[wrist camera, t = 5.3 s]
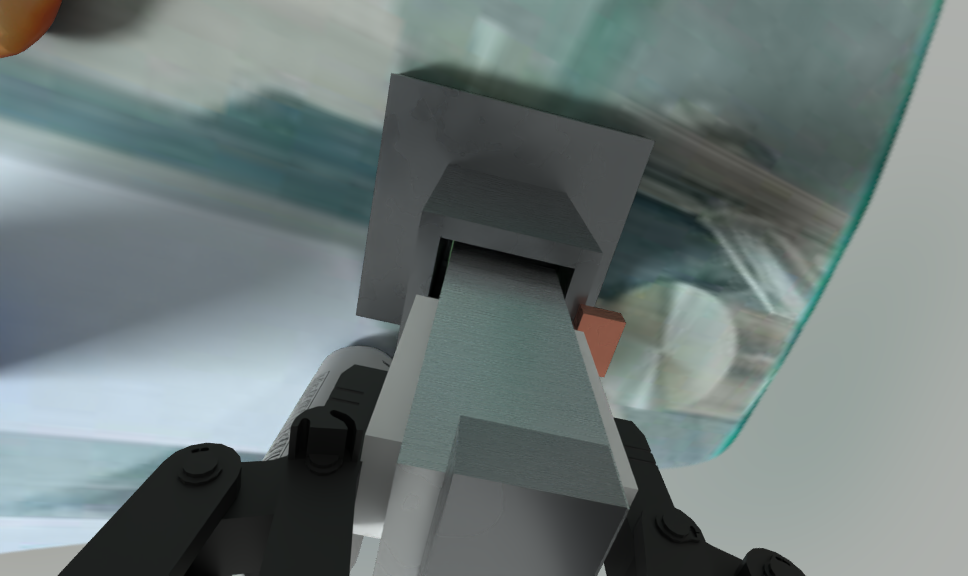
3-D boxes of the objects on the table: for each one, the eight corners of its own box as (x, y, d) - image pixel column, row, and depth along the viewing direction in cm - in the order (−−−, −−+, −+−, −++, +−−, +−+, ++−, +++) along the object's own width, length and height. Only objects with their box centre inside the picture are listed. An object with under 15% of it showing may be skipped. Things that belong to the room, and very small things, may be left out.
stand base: (398, 73, 26) (318, 69, 14) (644, 136, 27) (758, 181, 15) (364, 301, 31) (285, 433, 20) (569, 346, 32) (610, 498, 21)
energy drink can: (390, 422, 35) (323, 640, 22) (311, 392, 34) (189, 600, 21) (420, 358, 33) (367, 557, 19) (337, 325, 32) (219, 508, 18)
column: (469, 172, 26) (386, 460, 6) (545, 190, 26) (690, 520, 7) (445, 279, 28) (333, 722, 9) (514, 295, 29) (554, 757, 9)
